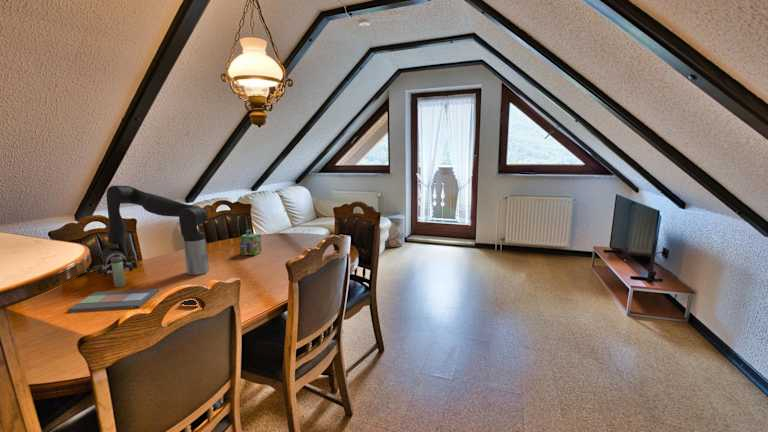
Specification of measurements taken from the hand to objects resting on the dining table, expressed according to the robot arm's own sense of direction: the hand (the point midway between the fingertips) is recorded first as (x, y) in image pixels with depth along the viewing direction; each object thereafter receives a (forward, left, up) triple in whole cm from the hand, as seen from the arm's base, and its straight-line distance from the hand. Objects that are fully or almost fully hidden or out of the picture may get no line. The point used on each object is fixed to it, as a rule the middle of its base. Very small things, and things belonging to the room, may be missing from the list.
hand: (118, 271), depth 149 cm
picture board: (-7, +17, -7) cm, 20 cm away
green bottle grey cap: (+1, -1, -7) cm, 7 cm away
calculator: (-43, +22, -8) cm, 49 cm away
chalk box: (-47, -44, -7) cm, 65 cm away
